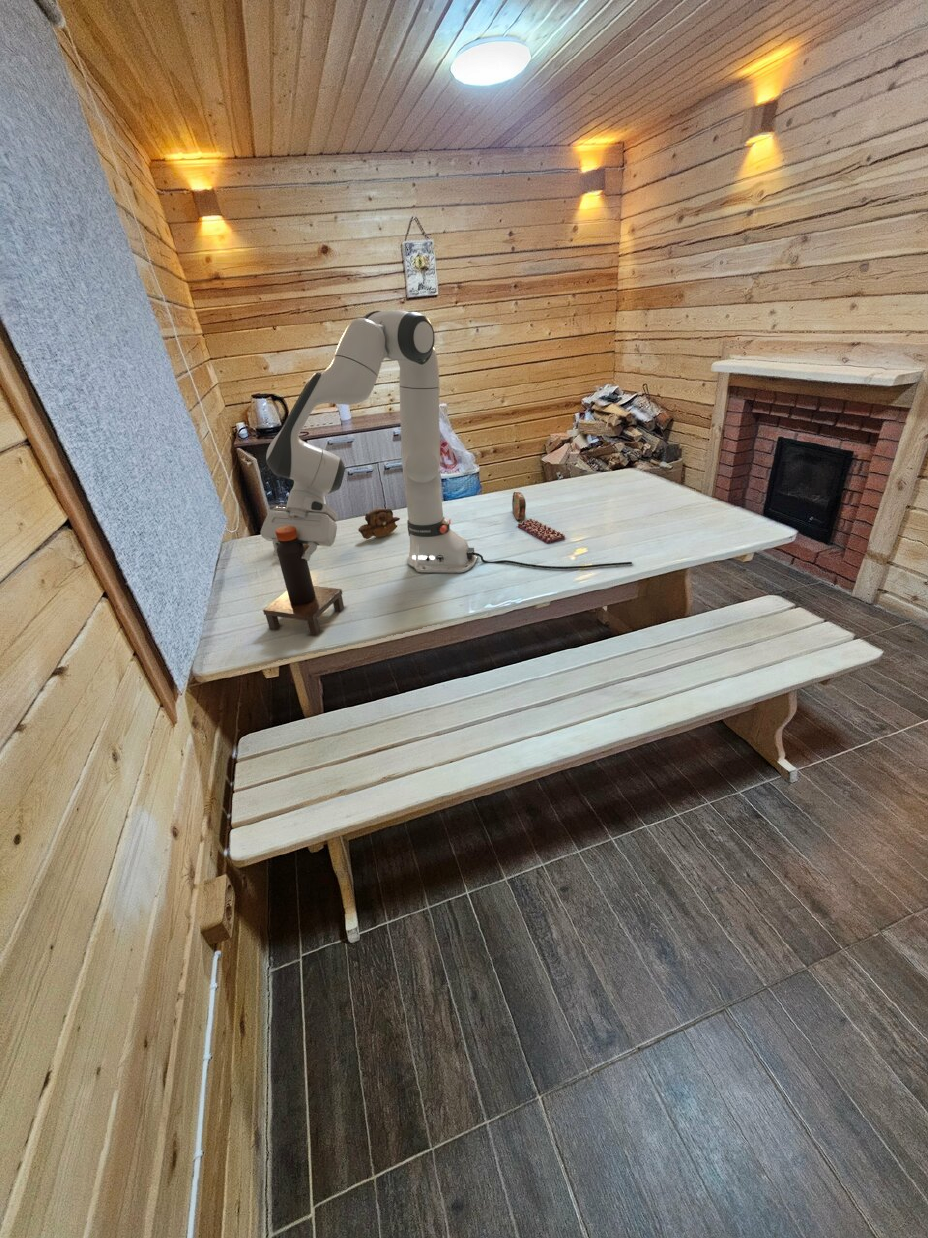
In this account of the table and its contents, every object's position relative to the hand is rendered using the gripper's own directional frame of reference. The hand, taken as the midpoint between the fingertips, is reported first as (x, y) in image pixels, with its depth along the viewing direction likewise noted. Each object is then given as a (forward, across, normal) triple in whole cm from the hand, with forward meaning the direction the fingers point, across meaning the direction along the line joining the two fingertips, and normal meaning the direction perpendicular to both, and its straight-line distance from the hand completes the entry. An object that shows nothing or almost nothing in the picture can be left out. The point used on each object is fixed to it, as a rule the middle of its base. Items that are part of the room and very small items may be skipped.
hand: (291, 558), depth 133 cm
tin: (-49, +40, +75) cm, 98 cm away
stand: (+12, 0, +14) cm, 18 cm away
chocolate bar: (-39, +51, +64) cm, 91 cm away
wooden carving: (-29, -5, +55) cm, 62 cm away
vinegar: (+8, 0, +9) cm, 13 cm away
